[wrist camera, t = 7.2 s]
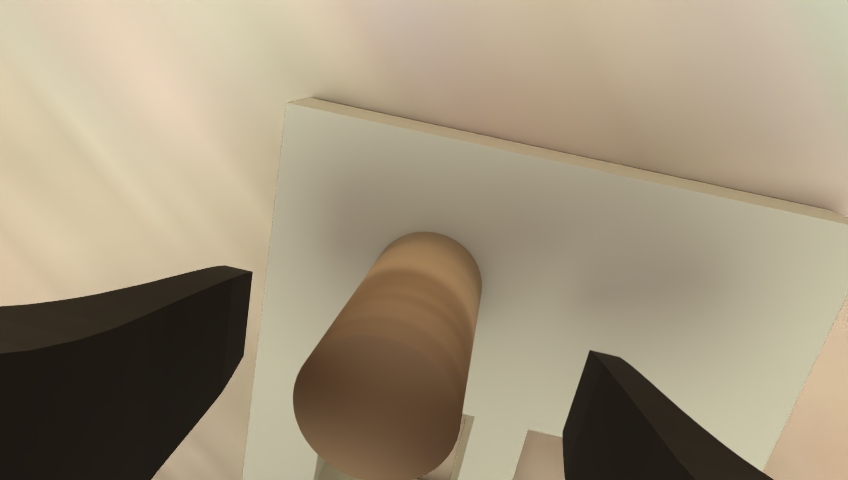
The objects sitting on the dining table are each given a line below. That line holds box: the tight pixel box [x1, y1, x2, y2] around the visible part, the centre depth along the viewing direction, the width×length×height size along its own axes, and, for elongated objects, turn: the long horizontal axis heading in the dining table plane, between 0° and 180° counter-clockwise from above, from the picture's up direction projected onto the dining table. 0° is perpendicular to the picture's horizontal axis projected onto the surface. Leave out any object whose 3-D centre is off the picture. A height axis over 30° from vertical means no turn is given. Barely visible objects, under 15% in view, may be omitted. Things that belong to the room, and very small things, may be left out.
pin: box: [293, 232, 482, 480], centre depth 13 cm, size 3×3×6 cm
